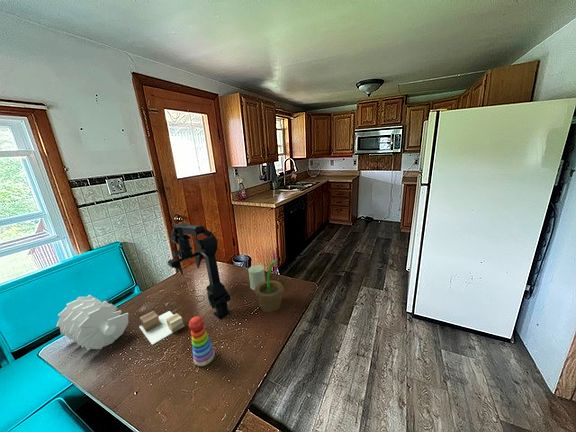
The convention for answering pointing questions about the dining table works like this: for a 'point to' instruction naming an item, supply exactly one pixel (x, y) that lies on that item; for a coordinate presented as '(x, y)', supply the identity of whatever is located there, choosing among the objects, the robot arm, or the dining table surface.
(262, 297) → the flowerpot
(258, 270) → the can
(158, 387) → the dining table surface
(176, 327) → the maple cube
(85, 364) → the dining table surface
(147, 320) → the walnut block
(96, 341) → the spiral staircase
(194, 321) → the stacking toy
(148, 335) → the white board
